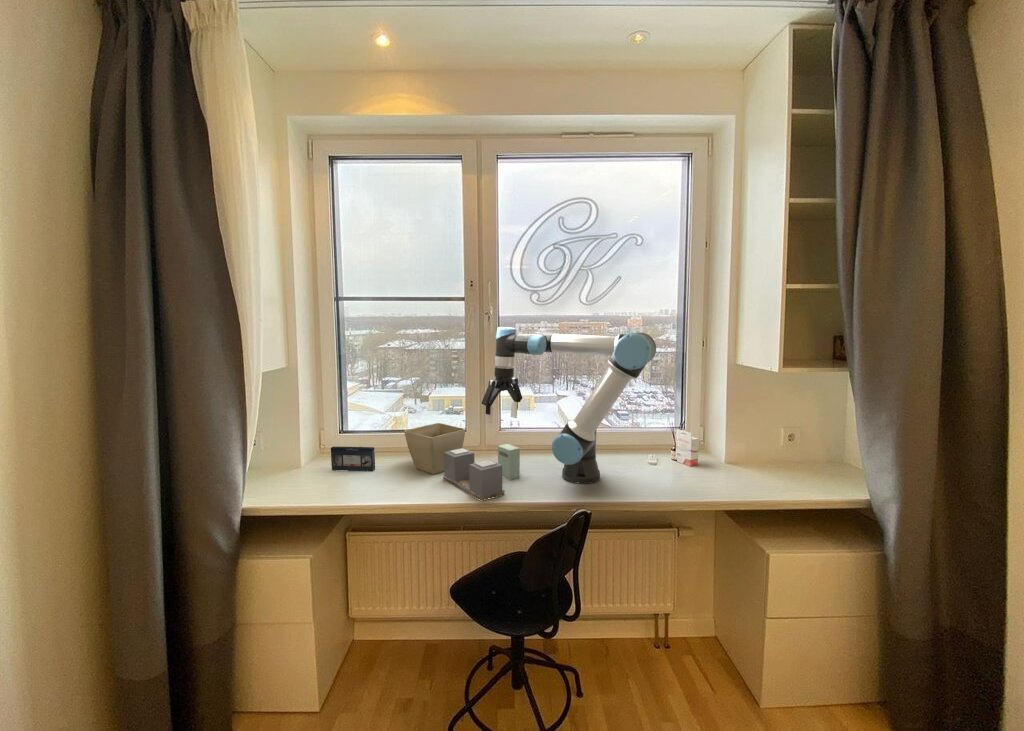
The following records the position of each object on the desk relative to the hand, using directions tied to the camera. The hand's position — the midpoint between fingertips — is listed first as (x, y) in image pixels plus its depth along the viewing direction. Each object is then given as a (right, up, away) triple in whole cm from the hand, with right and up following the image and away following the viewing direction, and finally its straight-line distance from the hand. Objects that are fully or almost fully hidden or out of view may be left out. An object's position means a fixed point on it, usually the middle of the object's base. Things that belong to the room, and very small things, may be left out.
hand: (501, 419), depth 178 cm
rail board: (-11, -25, -7) cm, 28 cm away
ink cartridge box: (+81, -21, +19) cm, 86 cm away
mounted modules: (-11, -24, -7) cm, 27 cm away
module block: (+3, -23, +5) cm, 24 cm away
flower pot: (-29, -23, +15) cm, 39 cm away
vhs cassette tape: (-63, -23, +13) cm, 68 cm away
